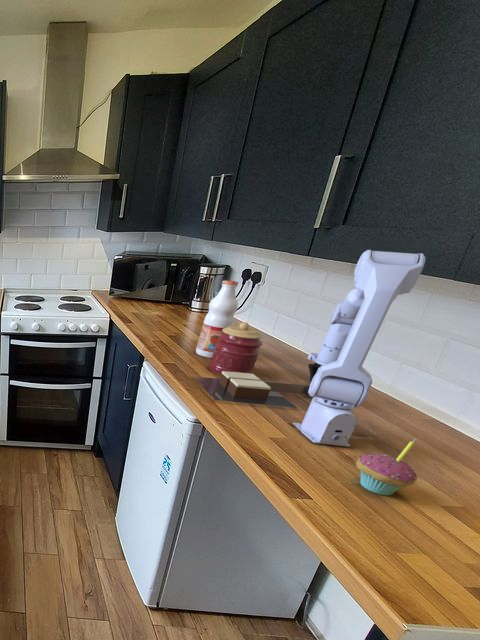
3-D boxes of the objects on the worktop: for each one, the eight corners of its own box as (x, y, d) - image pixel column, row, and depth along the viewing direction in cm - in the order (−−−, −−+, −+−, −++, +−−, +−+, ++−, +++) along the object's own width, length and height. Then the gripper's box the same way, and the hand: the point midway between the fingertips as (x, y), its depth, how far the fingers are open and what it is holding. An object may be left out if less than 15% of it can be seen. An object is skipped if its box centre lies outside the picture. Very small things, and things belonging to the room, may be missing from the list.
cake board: (297, 409, 113) (298, 407, 113) (214, 402, 116) (215, 400, 115) (264, 384, 129) (264, 382, 129) (192, 378, 132) (192, 376, 132)
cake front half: (266, 400, 117) (271, 387, 115) (233, 397, 118) (237, 384, 116) (258, 393, 121) (262, 381, 119) (226, 390, 122) (230, 378, 121)
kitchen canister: (216, 377, 133) (232, 325, 126) (202, 363, 145) (216, 315, 138) (258, 381, 131) (277, 329, 124) (241, 367, 143) (257, 319, 136)
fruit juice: (206, 349, 160) (227, 278, 149) (228, 357, 152) (252, 283, 141) (189, 352, 157) (209, 279, 145) (210, 360, 149) (233, 284, 137)
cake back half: (256, 391, 122) (260, 379, 121) (224, 388, 123) (228, 376, 122) (248, 385, 126) (252, 373, 125) (218, 382, 128) (222, 371, 126)
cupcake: (380, 477, 85) (408, 428, 80) (417, 504, 77) (451, 452, 72) (337, 473, 85) (362, 424, 80) (370, 500, 77) (399, 448, 73)
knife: (322, 394, 120) (326, 385, 119) (327, 397, 118) (331, 388, 117) (258, 388, 122) (261, 379, 121) (261, 391, 120) (265, 382, 119)
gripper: (370, 356, 106) (348, 402, 112) (333, 340, 119) (315, 381, 125) (341, 354, 107) (320, 399, 113) (307, 338, 120) (291, 379, 126)
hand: (316, 390), depth 119 cm, fingers closed on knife, 2 cm apart
